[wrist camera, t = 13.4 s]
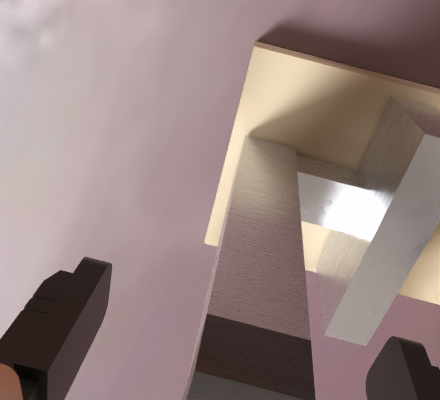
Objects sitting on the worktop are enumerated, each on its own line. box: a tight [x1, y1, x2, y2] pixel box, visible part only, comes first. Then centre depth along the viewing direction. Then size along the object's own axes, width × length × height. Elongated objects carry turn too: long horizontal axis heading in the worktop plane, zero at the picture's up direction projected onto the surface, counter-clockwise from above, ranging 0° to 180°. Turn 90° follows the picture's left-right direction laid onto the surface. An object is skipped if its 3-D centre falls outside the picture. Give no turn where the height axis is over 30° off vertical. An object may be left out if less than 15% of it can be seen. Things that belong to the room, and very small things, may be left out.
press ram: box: [183, 95, 440, 400], centre depth 15 cm, size 8×10×14 cm
